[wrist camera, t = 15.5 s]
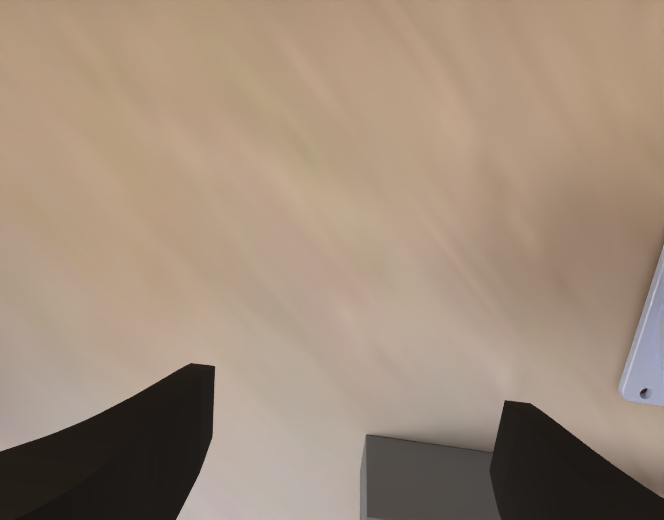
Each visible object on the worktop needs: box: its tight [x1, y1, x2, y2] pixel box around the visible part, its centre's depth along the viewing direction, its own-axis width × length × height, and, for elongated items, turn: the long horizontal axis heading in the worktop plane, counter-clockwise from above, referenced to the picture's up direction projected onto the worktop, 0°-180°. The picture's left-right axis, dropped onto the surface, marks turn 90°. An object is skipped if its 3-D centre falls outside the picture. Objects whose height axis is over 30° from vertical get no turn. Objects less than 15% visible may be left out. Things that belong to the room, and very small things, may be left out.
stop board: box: [360, 435, 501, 520], centre depth 21 cm, size 10×2×5 cm, turn 83°
